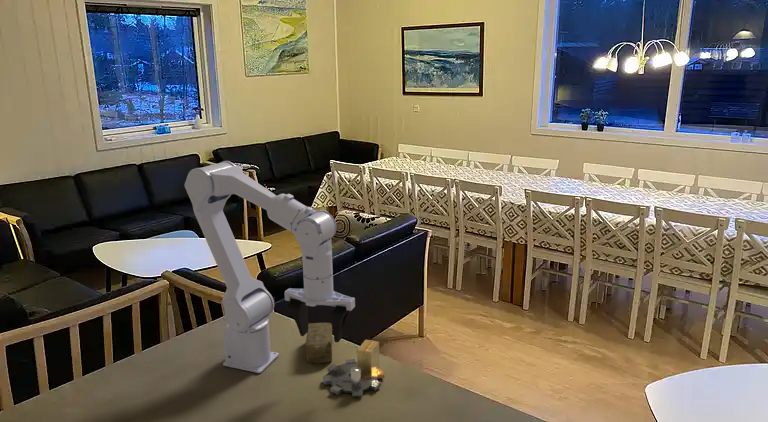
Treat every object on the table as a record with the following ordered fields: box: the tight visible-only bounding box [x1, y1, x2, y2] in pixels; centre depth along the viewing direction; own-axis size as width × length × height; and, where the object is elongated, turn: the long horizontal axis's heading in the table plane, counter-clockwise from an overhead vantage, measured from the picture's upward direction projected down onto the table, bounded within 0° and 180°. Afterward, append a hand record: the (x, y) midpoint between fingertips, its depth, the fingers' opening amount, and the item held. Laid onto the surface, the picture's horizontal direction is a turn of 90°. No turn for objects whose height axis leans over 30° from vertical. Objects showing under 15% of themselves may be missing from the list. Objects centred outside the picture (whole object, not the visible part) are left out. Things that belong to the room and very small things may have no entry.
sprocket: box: [322, 358, 385, 398], centre depth 111 cm, size 12×12×4 cm
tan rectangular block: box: [356, 339, 380, 379], centre depth 112 cm, size 3×4×6 cm, turn 160°
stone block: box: [305, 322, 333, 364], centre depth 123 cm, size 6×12×5 cm, turn 6°
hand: (321, 336), depth 110 cm, fingers open, 7 cm apart
